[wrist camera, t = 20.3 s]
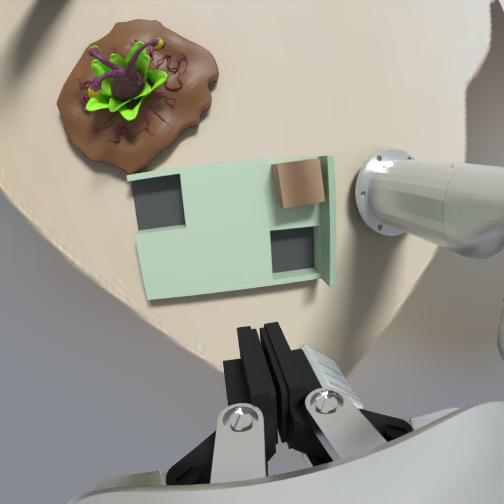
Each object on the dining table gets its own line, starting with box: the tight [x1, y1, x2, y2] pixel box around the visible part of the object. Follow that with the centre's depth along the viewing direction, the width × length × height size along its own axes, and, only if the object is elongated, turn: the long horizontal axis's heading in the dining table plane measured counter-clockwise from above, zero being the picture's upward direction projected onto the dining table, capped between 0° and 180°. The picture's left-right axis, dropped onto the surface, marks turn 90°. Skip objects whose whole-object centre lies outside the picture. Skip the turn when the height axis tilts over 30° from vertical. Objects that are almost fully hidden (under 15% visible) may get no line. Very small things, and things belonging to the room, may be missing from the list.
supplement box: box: [301, 344, 363, 409], centre depth 40 cm, size 7×7×13 cm
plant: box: [57, 19, 219, 174], centre depth 26 cm, size 20×20×11 cm
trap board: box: [126, 156, 336, 300], centre depth 35 cm, size 24×16×6 cm, turn 94°
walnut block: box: [271, 159, 325, 208], centre depth 33 cm, size 5×5×3 cm
